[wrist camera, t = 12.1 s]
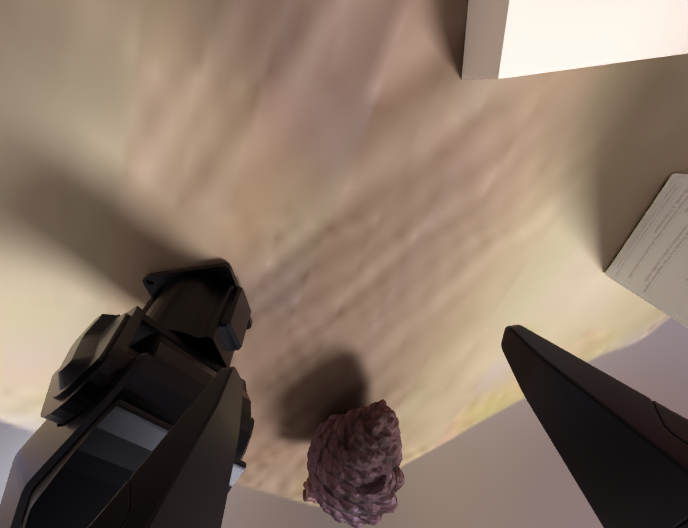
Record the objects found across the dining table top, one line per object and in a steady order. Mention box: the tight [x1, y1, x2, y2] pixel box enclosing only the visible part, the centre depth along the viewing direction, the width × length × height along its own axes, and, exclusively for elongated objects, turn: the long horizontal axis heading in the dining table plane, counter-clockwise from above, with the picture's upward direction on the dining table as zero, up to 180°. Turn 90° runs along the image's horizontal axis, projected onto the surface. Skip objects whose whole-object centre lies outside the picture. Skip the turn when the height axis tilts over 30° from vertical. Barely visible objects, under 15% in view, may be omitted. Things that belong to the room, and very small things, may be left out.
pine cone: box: [303, 399, 404, 528], centre depth 30 cm, size 18×10×10 cm, turn 159°
